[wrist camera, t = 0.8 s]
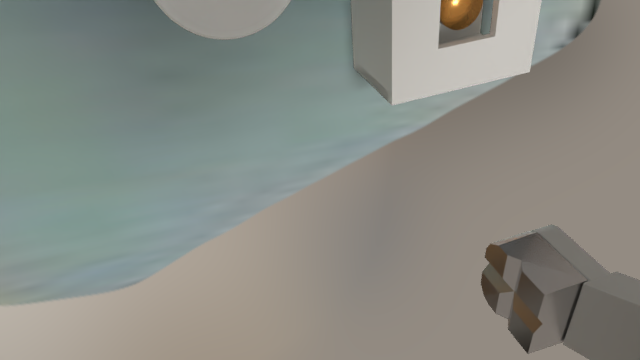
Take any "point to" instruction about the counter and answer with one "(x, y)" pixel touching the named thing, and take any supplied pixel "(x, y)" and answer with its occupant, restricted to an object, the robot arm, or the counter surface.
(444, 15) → the orange ball
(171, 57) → the counter surface
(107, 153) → the counter surface
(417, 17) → the box
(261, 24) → the supplement tub
